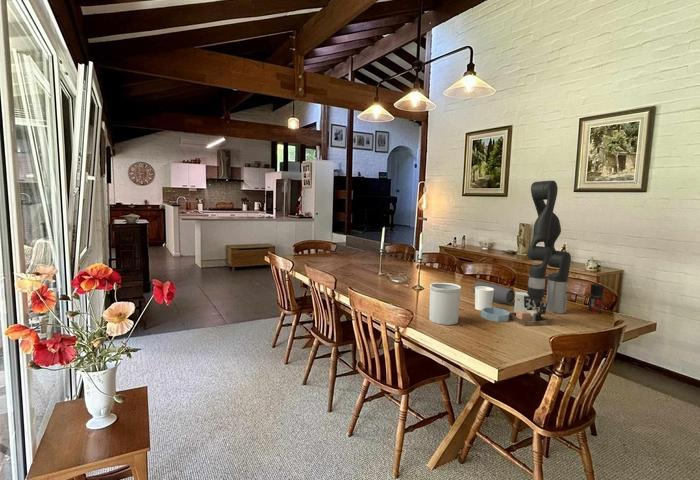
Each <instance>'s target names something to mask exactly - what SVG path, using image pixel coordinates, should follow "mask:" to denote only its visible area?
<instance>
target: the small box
mask: <svg viewBox="0 0 700 480" xmlns="http://www.w3.org/2000/svg"><path fill="white" fill-rule="evenodd" d="M524 296H529V295H528V294H527V292H524V291H523V292H522V291H515V298H514V309H513V312H517V311H523V310H525V311H527V309H526V308H525V307H524ZM526 305H527V303H526Z"/></svg>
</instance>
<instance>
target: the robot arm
mask: <svg viewBox="0 0 700 480" xmlns="http://www.w3.org/2000/svg"><path fill="white" fill-rule="evenodd" d="M530 193H531V197H532V200H533V204H534V207H535V210H536V213H537V218H536V220H535V221H534V224H533V230H532V231H533V233H532V239H531V242H530V245H529V247H528V249H527V252H526V255H527V258H528V259H529V260H531V261H539V262H540V261H542V262H541V263H540V264H532V265H531V266H530V267H529V275H528V276H529V277H528V282H527V292H526V293H527V294H528V295H529V296H524V307H525V308H526V309H527V310H536V320H535V321H541V316H542V315H545V314H546V311H548V312H550V313H553V314H564V313H567V312H566V311H567V306H568V305H567V304H568V294H567V287H568V279H569V274H570V270H571V269H570V268H571V261H572V256H571V254H570V252H568V251H562V250H556V248H555V244H556V242H557V240H558V238H559V237H560V235H561V232H562V228H561V227H562V226H561V221H560V219H559V217H558V216H557V215H556V214H555V213H554V210H555V209H554V208H555V205H556V201H557V195H558V183H557V182H556V181H555V180H542V181H540V180H539V181H533V182H532V184H531V186H530ZM545 201H546V202H545ZM540 243H543V245H544V246H540V245H537V244H540ZM548 266H549V267H551V268H555V269H556V268H557V269H559V270H558V271H557V272H553V273H549V274H548V276H547V284H546V275H547V267H548ZM545 292H546V294H545ZM545 295H546V298H545V302H544V301H543V298H544V297H545ZM526 303H527V305H526ZM533 308H534V309H533Z"/></svg>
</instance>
